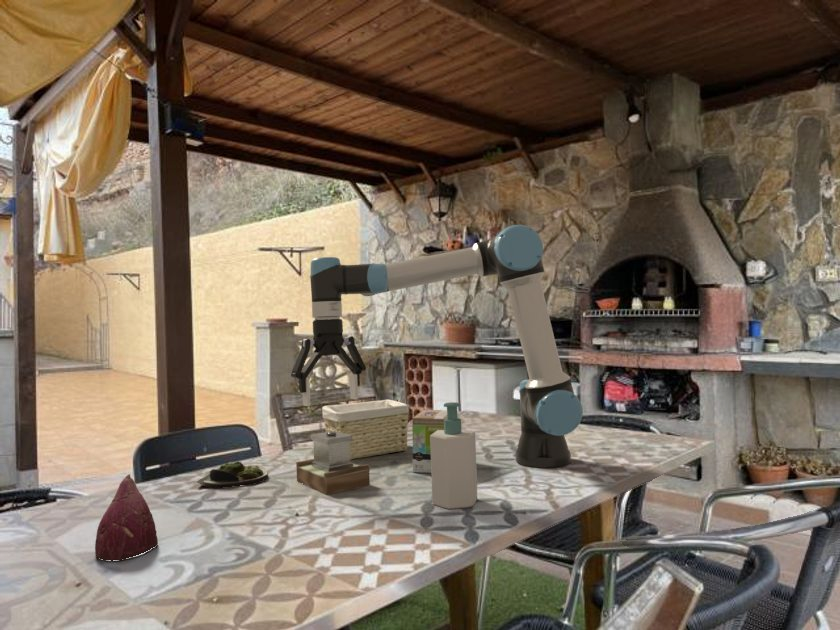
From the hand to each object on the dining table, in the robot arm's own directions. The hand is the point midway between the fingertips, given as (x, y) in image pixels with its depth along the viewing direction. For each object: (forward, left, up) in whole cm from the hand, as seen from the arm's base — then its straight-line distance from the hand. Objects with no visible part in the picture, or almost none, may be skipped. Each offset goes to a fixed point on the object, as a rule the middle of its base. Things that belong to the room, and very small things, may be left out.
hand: (331, 402), depth 152 cm
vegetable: (-13, +51, -21) cm, 56 cm away
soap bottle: (-33, -12, -21) cm, 41 cm away
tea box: (-5, -29, -21) cm, 36 cm away
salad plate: (+22, +18, -21) cm, 35 cm away
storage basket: (+24, -25, -21) cm, 41 cm away
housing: (0, 0, -17) cm, 17 cm away
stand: (0, 0, -21) cm, 21 cm away
